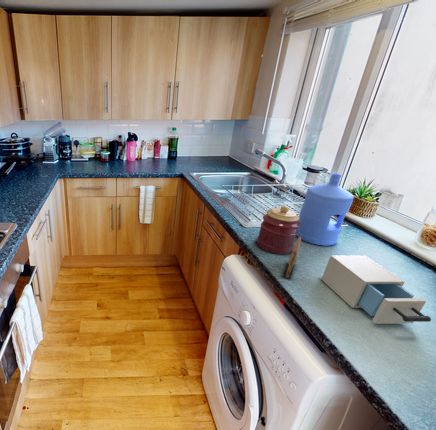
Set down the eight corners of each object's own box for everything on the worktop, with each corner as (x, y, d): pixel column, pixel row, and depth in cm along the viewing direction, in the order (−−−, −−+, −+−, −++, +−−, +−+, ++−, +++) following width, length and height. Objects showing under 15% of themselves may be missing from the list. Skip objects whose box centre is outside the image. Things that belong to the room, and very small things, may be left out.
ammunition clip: (288, 263, 105) (297, 234, 100) (294, 264, 104) (303, 236, 99) (283, 277, 97) (293, 246, 92) (289, 279, 96) (300, 248, 91)
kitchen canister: (298, 248, 115) (311, 208, 107) (281, 258, 108) (294, 216, 100) (266, 235, 124) (277, 197, 117) (249, 243, 118) (259, 204, 110)
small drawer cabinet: (390, 307, 85) (405, 281, 81) (352, 307, 84) (365, 281, 80) (354, 279, 97) (365, 255, 93) (321, 279, 97) (330, 255, 93)
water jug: (291, 239, 122) (312, 175, 110) (295, 225, 134) (314, 167, 122) (336, 250, 114) (363, 183, 102) (336, 235, 126) (360, 173, 114)
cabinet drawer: (429, 336, 74) (444, 313, 71) (390, 336, 74) (403, 313, 70) (373, 293, 89) (384, 272, 86) (341, 293, 89) (350, 272, 86)
